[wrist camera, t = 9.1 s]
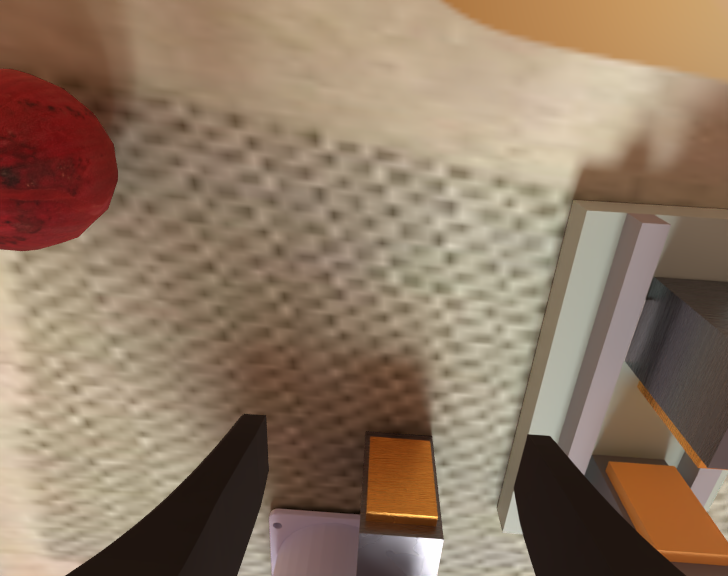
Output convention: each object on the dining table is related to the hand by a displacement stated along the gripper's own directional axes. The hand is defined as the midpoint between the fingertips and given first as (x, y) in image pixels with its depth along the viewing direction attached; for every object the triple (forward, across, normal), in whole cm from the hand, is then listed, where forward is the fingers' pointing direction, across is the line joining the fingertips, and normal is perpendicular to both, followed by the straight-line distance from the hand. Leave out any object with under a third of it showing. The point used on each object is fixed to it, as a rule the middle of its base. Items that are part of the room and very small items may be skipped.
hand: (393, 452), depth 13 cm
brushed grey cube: (+8, -12, 0) cm, 14 cm away
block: (+10, -1, +10) cm, 14 cm away
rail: (+9, -12, +4) cm, 16 cm away
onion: (+10, +13, -6) cm, 17 cm away
